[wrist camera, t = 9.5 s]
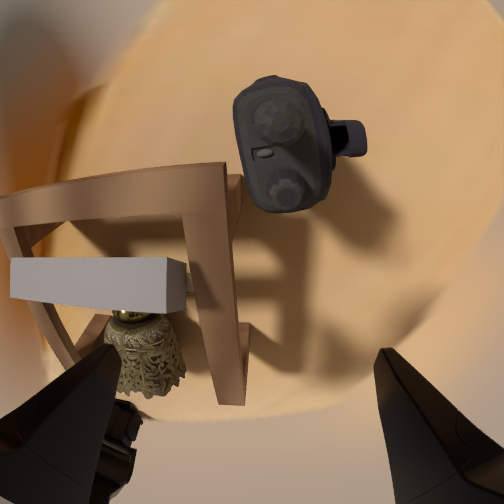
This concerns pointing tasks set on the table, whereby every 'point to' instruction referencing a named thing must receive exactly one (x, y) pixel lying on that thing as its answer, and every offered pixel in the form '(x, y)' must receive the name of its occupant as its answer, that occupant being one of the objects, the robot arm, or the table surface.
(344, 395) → the table surface
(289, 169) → the two-way radio
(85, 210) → the frame
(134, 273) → the trapdoor
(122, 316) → the brass rounded piece
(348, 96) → the table surface
